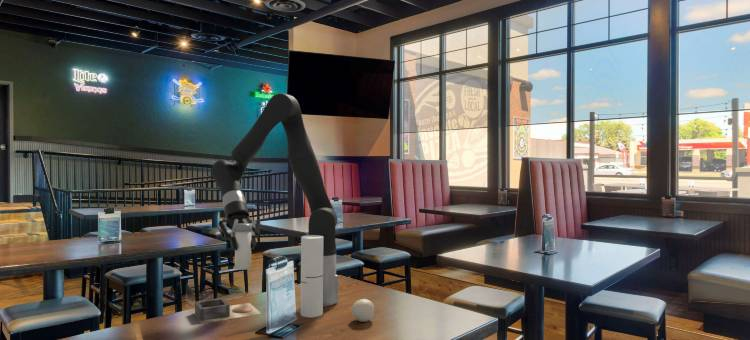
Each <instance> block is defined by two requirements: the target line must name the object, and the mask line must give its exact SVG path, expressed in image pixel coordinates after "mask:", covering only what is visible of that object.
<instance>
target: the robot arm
mask: <svg viewBox="0 0 750 340" xmlns="http://www.w3.org/2000/svg"><path fill="white" fill-rule="evenodd" d="M302 115H303V114H302V110H301V107H300V104H299V102H298V100H297V99H296V97H294V96H293V95H291V94H287V93H282V92H279V93H276V94H274V95H272V96H271V97H270V98H269V100H268V101H267V103H266V105H265V106H264V108H263V110H262V111H261V113H260V115H259V116H258V118H257V119H256V120H255V122H254V123H253V125H252V126H251V128H250V129H249V130H248V132H247V133H246V134H245V136H243V137H242V138H241V140H240V141H239V142H238V144H236V146H235V147H234V148H233V149H232V151H231V152H230V154H231V157H232V159H233V160H235V161H236V162H235V163H232V162H230V161H228V160H225V159H218V160H216V161H215V162H214V163H213V166H212V167H211V168H212V169H211V175H212V177H213V179H214V182H215V183H216V185H217V187H218V188H219V190H220V193H221V198H222V208H223V211H224V216H225V220H226V221H224V222H223V221H218V224H217V229H218V231H219V233H220V235H221V237H222V240H223V241H229V242H230V247H231V249H232V250H233V251H234V252H235V250H237V247H238V246H237V241H236V238H235V224H238V223H251V224H252V228H254V230H252V231H251V250H254V249H255V248H256V246H257V239H258V238H259V237H260V234H261V220H260V219H257V220H253V219H252V218H251V217H250V212H249V210H248V204H247V201H246V198H245V195H244V192H243V188H242V187H243V186H242V185H241V183H240V181H241V179H243V176H244V173H245V171H246V169H247V167H248V165H249V163H250V162H251V160H252V159H253V158H254V157H255V156H256V155H257V153H258V152H259V151H260V150H261V149H262V147H263V145H264V143H265V141H266V139H268V138H267V137H268V136H269V134H270V133H271V131H272V130H273V129H274V128H275V127H276V126H277V125H278V124H279V123H281V125H282V126H283V130H284V133H285V135H286V140H287V141H286V142H287V156H288V161H289V165H290V168H291V170H292V173H293V176H294V178H295V180H296V182H297V184H298V186H299V188H300V189H301V190H302V192H303V194H304V196H305V197H306V201H307V203H308V206H309V212H310V216H309V218H308V224H307V225H308V227H307V228H308V235H320V236H323V307H327V306H328V307H330V306H332V305H334V304H338V303H339V276H338V274H337V243H336V228H337V227H336V226H337V224H338V216H337V213H336V211H335V209H334V207H333V205H332V203H331V201H330V199H329V196H328V193H327V191H326V187H325V183H324V179H323V175H322V172H321V169H320V165H319V162H318V159H317V157H316V154H315V152H314V149H313V147H312V143H311V140H310V138H309V136H308V133H307V130H306V128H305V124H304V119H303V116H302ZM226 227H227V228H228V229H229V230H231V233H229V232H228V230H227V228H226Z"/></svg>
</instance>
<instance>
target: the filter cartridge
mask: <svg viewBox="0 0 750 340" xmlns="http://www.w3.org/2000/svg"><path fill="white" fill-rule="evenodd" d="M251 231H253V225H252V224H251V223H238V224H235V238H236V241H237V246H238V247H237V250H235V251H234V269H235V270H237V271H239V270H240V271H242V270H243V271H244V270H249V269H251V268H252V249H251Z"/></svg>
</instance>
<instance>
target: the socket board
mask: <svg viewBox="0 0 750 340" xmlns="http://www.w3.org/2000/svg"><path fill="white" fill-rule="evenodd" d="M192 312H193V314H194V315H195V317H196V318H197V320H198V321H199V323H200V325H201V324H206V323H213V322H220V321H224V320H225V321H226V320H231V319H238V318H239V319H240V318H244V317H249V316H257V315H261V314H262V313H261V312H260V311H259V310H258V309H257V308H256V307H255V306H254V305H252V304H251V303H250V302H245V303H240V304H234V305H233V304H232V305H231V304H229V303H228V301H227V300H226V299H225V298H223V297H220V298H214V299H207V300H206V299H205V300H198V301H194V310H193V311H192Z"/></svg>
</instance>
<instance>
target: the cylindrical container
mask: <svg viewBox="0 0 750 340" xmlns="http://www.w3.org/2000/svg"><path fill="white" fill-rule="evenodd" d="M323 307H324V306H323V236H320V235H309V234H307V235H302V236H301V237H300V316H301V317H304V318H318V317H321V316H323V313H324V308H323Z"/></svg>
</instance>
